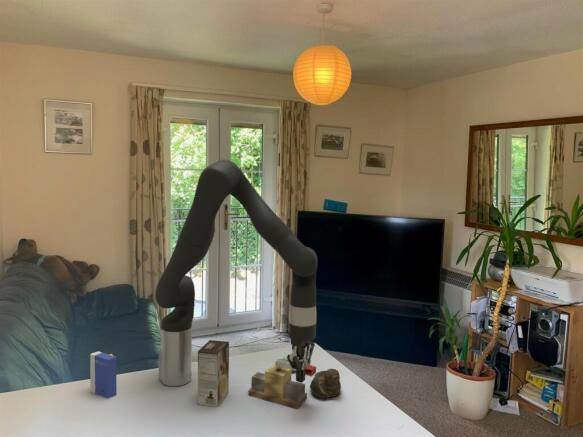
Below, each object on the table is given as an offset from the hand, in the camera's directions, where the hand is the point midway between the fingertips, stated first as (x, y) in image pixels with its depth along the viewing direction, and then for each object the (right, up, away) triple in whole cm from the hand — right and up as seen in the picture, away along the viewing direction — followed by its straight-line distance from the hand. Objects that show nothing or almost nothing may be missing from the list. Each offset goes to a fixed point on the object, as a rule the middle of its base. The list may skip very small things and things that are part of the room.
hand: (300, 380), depth 124 cm
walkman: (-58, -7, +8) cm, 59 cm away
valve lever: (-2, 0, +6) cm, 6 cm away
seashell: (+7, -8, +14) cm, 18 cm away
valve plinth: (-7, -8, +9) cm, 14 cm away
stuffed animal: (-2, -6, +29) cm, 30 cm away
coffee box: (-25, -8, +7) cm, 27 cm away
